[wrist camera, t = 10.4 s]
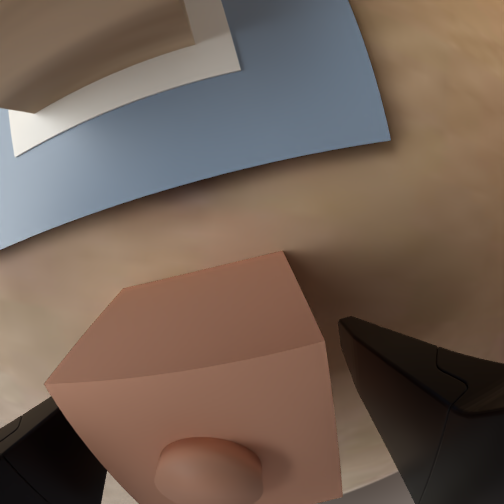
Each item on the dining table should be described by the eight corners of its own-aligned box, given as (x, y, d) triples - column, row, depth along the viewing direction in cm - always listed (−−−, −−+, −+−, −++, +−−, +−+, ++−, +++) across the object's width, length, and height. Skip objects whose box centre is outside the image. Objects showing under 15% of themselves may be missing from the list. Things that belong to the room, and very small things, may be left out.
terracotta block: (282, 249, 9) (336, 364, 4) (309, 382, 10) (347, 514, 5) (124, 287, 9) (29, 403, 4) (176, 406, 11) (149, 533, 5)
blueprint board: (274, -116, 5) (276, -128, 4) (378, 142, 8) (392, 140, 7) (-30, 6, 5) (-41, 1, 5) (-12, 254, 9) (-26, 261, 8)
